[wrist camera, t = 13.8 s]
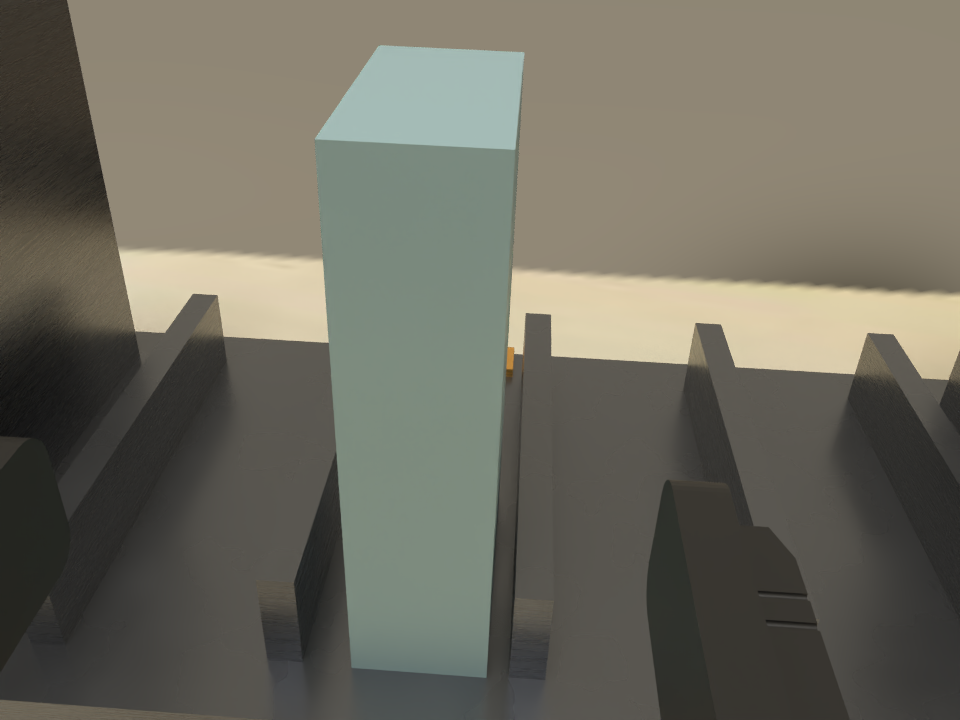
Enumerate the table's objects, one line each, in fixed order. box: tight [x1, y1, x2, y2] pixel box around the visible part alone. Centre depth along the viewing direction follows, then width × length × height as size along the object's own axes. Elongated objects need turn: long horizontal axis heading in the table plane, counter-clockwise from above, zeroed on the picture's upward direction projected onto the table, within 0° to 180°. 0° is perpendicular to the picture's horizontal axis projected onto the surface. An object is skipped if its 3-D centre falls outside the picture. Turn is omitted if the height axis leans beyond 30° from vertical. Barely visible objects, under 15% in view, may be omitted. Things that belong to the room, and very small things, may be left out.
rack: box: [0, 0, 960, 720], centre depth 21 cm, size 30×15×15 cm, turn 86°
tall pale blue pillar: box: [315, 45, 524, 678], centre depth 19 cm, size 3×6×12 cm, turn 176°
